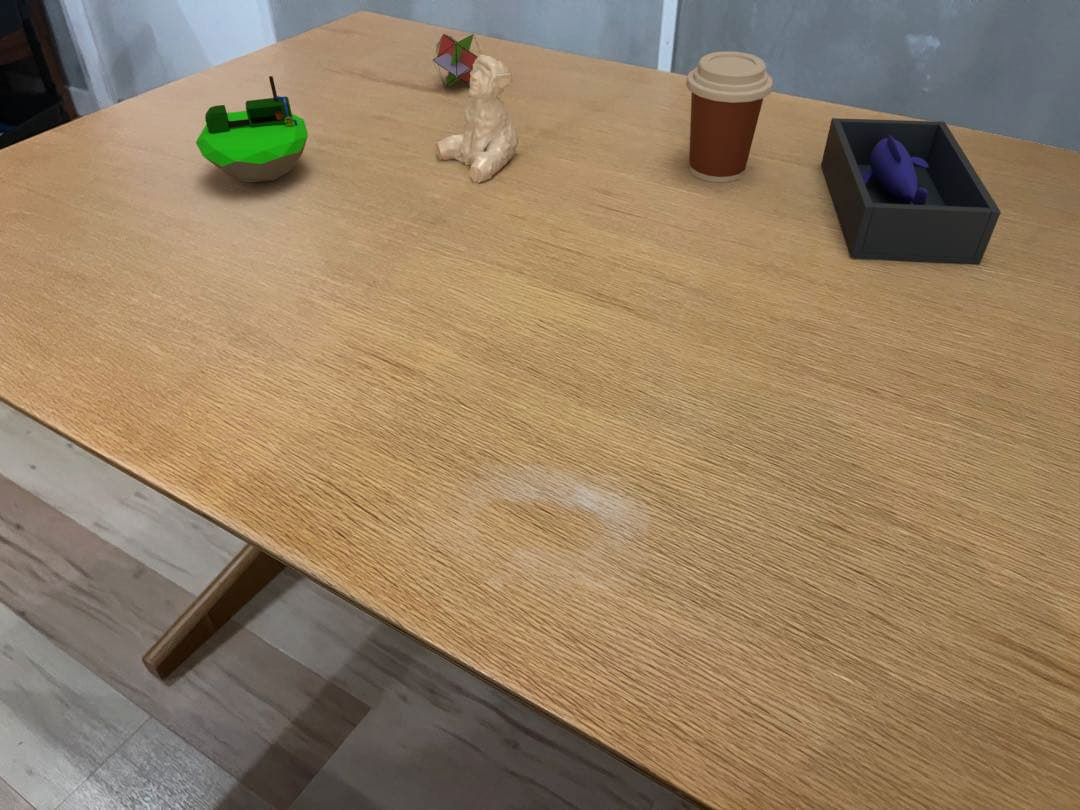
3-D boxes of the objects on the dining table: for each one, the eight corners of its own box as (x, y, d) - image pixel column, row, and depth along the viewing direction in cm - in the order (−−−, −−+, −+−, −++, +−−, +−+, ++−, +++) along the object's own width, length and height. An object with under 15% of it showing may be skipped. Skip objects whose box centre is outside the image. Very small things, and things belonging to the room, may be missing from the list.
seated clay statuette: (431, 156, 97) (421, 52, 89) (490, 137, 101) (485, 35, 93) (478, 185, 92) (470, 77, 84) (538, 163, 96) (537, 58, 88)
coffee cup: (743, 194, 90) (761, 84, 82) (664, 177, 93) (675, 69, 85) (767, 161, 96) (787, 55, 88) (693, 145, 99) (705, 42, 91)
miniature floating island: (311, 147, 100) (291, 54, 92) (318, 191, 91) (298, 92, 84) (208, 160, 97) (180, 65, 90) (206, 206, 89) (175, 106, 82)
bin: (929, 169, 94) (944, 121, 90) (979, 264, 79) (1001, 212, 75) (820, 165, 95) (831, 117, 91) (850, 258, 80) (865, 206, 76)
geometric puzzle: (505, 67, 113) (473, 12, 110) (477, 83, 108) (443, 27, 106) (473, 91, 118) (442, 39, 116) (444, 107, 114) (412, 54, 111)
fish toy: (847, 183, 93) (840, 128, 89) (917, 162, 91) (914, 105, 87) (889, 253, 82) (883, 194, 77) (970, 230, 80) (969, 168, 76)
